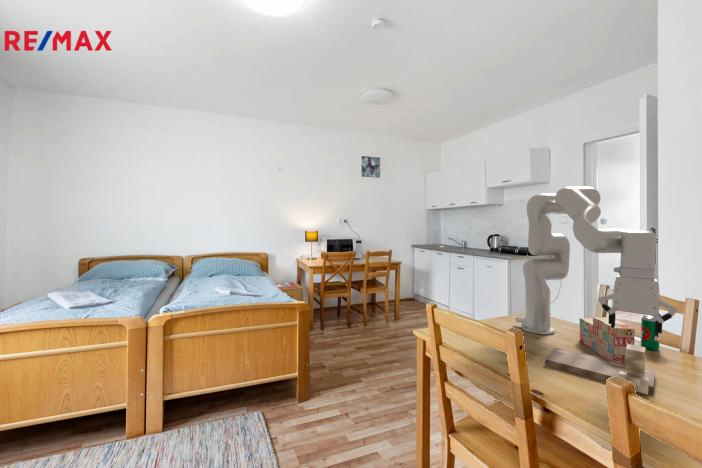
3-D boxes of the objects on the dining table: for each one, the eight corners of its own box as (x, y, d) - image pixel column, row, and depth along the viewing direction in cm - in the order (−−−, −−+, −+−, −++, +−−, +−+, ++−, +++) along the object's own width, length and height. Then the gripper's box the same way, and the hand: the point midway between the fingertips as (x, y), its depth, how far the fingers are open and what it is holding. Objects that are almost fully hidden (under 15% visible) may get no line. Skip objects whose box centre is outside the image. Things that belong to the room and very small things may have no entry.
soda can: (658, 352, 115) (659, 319, 115) (639, 348, 119) (640, 316, 118) (660, 349, 118) (660, 317, 118) (641, 345, 122) (642, 314, 122)
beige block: (618, 387, 90) (619, 353, 90) (624, 370, 101) (624, 339, 101) (647, 395, 86) (648, 359, 86) (650, 376, 97) (650, 344, 96)
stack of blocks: (579, 340, 128) (579, 310, 128) (596, 341, 127) (596, 310, 127) (613, 363, 107) (613, 327, 106) (634, 364, 106) (635, 328, 105)
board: (545, 365, 106) (545, 359, 106) (556, 352, 116) (556, 347, 116) (653, 394, 87) (653, 386, 87) (654, 376, 97) (655, 369, 97)
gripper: (597, 271, 96) (595, 326, 97) (679, 279, 84) (676, 342, 85) (601, 268, 102) (599, 321, 103) (679, 275, 89) (675, 335, 91)
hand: (634, 330), depth 94 cm, fingers open, 9 cm apart
